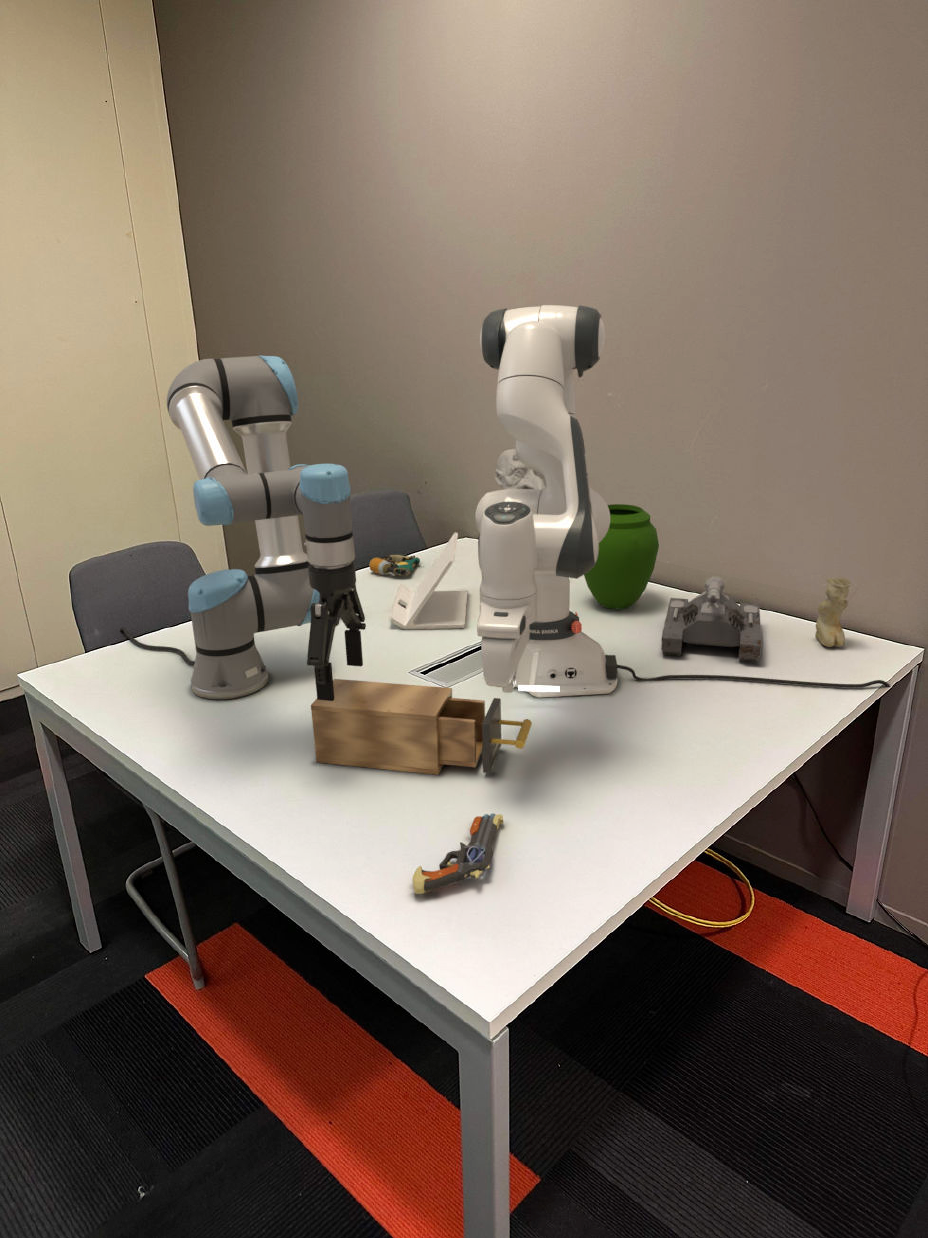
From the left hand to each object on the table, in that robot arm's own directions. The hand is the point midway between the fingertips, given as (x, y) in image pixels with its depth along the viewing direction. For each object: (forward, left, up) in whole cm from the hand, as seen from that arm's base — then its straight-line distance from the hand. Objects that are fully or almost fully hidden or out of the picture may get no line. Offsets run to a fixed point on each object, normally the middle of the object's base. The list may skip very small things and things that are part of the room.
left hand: (341, 681), depth 145 cm
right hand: (+26, +13, +1) cm, 29 cm away
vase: (-2, +91, -13) cm, 92 cm away
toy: (+28, +83, -13) cm, 89 cm away
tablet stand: (-36, +60, -13) cm, 71 cm away
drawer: (+17, +9, -12) cm, 23 cm away
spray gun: (-67, +79, -13) cm, 105 cm away
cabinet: (+7, +3, -13) cm, 15 cm away
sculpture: (+49, +97, -13) cm, 110 cm away
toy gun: (+36, -11, -13) cm, 40 cm away
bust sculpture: (-35, +97, -13) cm, 104 cm away
